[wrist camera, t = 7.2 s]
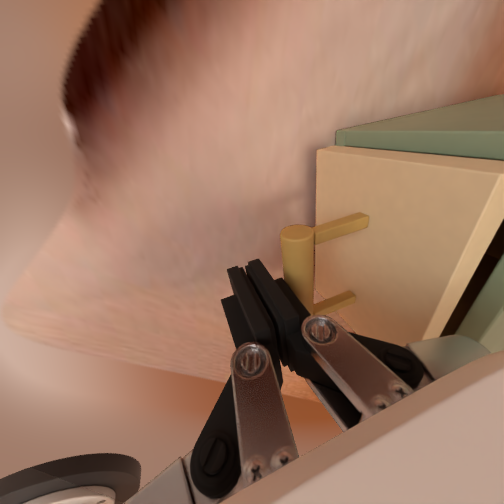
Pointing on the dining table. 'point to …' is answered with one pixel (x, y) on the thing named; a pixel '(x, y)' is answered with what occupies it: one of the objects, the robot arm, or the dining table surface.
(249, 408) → the robot arm
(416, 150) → the cabinet
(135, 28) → the dining table surface
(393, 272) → the drawer
